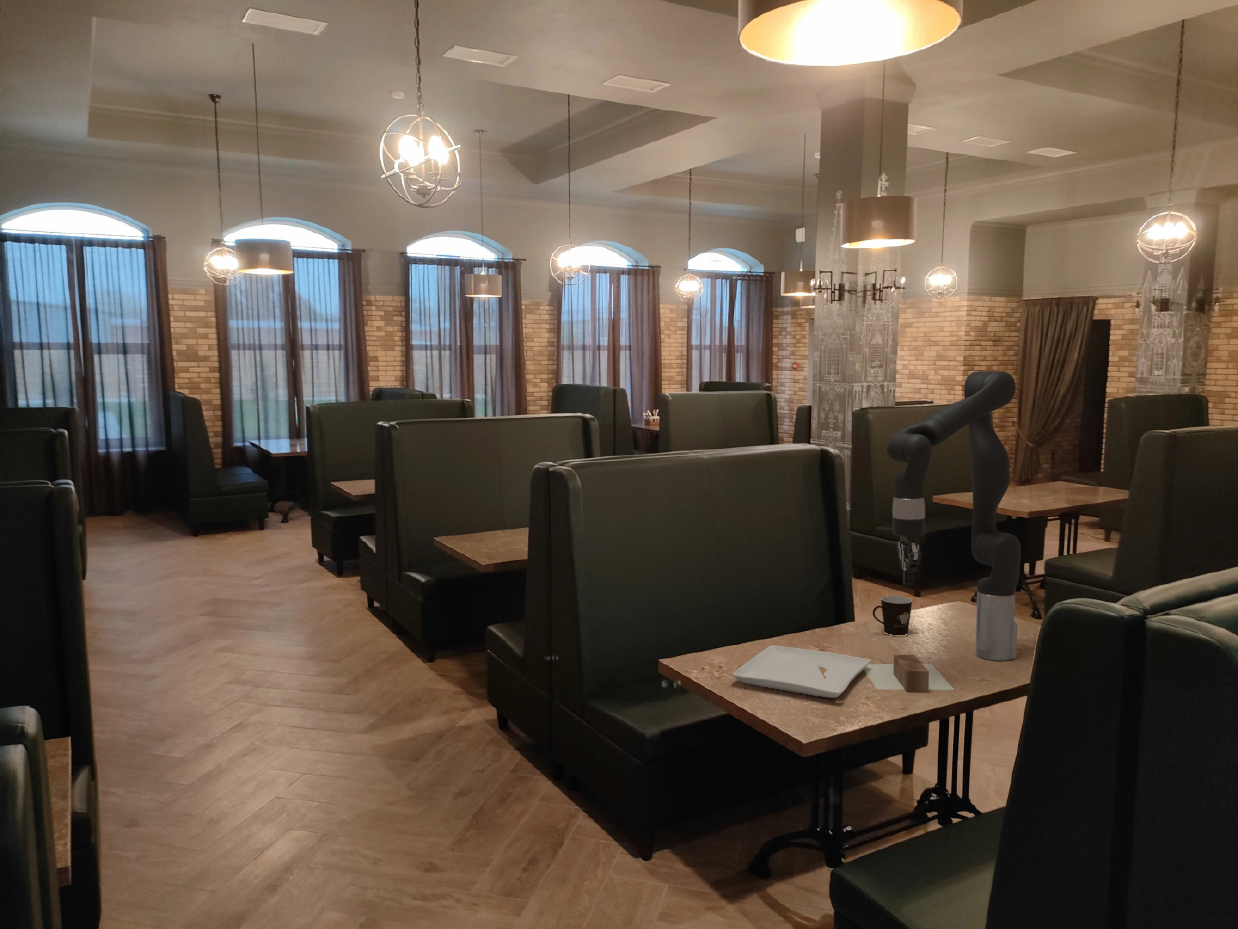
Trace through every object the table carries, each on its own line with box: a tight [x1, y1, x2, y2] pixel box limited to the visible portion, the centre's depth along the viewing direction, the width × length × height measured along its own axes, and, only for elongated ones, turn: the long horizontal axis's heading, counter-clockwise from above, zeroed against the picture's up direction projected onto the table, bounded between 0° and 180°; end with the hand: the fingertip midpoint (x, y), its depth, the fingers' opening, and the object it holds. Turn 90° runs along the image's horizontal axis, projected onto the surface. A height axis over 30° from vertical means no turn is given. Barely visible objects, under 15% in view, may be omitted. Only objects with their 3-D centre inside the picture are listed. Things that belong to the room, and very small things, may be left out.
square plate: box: [731, 644, 872, 699], centre depth 215 cm, size 27×27×4 cm
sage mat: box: [863, 663, 955, 691], centre depth 214 cm, size 18×18×1 cm
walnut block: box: [893, 654, 929, 693], centre depth 209 cm, size 5×5×12 cm
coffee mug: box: [872, 595, 913, 635], centre depth 250 cm, size 12×9×10 cm
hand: (908, 585), depth 213 cm, fingers closed
